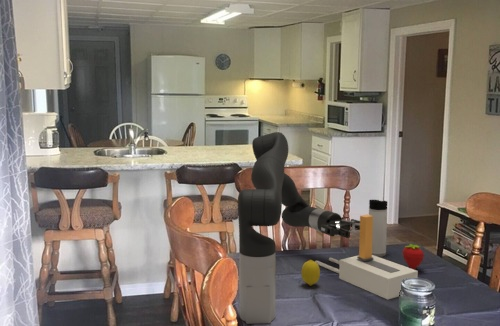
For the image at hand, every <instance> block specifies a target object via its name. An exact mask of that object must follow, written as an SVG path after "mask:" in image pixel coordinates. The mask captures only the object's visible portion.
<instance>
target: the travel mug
mask: <svg viewBox="0 0 500 326" xmlns="http://www.w3.org/2000/svg"><path fill="white" fill-rule="evenodd" d="M368 202H369V203H368V205H369V206H368V215H371V216H373V235H372V255H374V256H377V257H380V258H382V257H385V256H386V254H387V234H388V233H387V231H388V228H387V227H388V201H387V200H379V199H369V201H368Z"/></svg>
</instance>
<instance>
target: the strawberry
mask: <svg viewBox="0 0 500 326" xmlns="http://www.w3.org/2000/svg"><path fill="white" fill-rule="evenodd" d="M402 257H403V259H404V261H405V263H406V264H407V267H408V268H411V269H414V270H416V269H417V268H418V267H419V266H420V265H421V263H422V262H423V260H424V258H425V255H424V252H423V250H422V249H421V248H420V246H419V244H414V243H413V241H411V243H409V245H404V248H403V250H402Z"/></svg>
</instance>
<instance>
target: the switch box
mask: <svg viewBox="0 0 500 326" xmlns="http://www.w3.org/2000/svg"><path fill="white" fill-rule="evenodd" d="M358 256H359V254H358V255H355V256H351V257H346V258H341V259H339V261H340V264H338V265H339V268H338V269H339V273H338V275H339V277H338V278H339V279H340V280H342V281H344V282H347V284H351V285H353V286H356V287H358V288H360V289H362V290H365V291H367V292H370V293H371V294H374V295H376V296H379V297H381V298H383V299H386V300H387V301H388V300H391V299H394V298H399V297H400V296H399V292H400V290H401V281H402V280H403V279H406V278H418V274H419V271H418V270H416V269H415V270H414V269H411V268H410V267H409V266H405V265H402V264H399V263H396V262H393V261H390V260H388V259H385V258H382V257H377V256H374V255H372V257H373V260H370V261H363V260H360V259H358V258H357V257H358Z"/></svg>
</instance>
